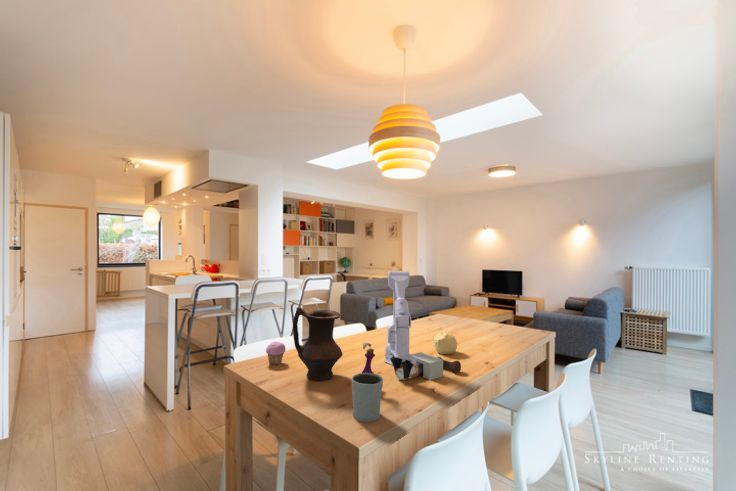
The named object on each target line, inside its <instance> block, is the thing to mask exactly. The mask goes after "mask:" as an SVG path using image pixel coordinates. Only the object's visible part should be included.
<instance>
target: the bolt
mask: <svg viewBox="0 0 736 491" xmlns="http://www.w3.org/2000/svg"><path fill="white" fill-rule="evenodd" d="M436 357H437V358H440V359H443V358H442V357H441V356H436ZM443 369H448V370H450V371H451V372H452V373H453V374H460V372H461V370H462V364H461V362H460V360H454V361H449V360H445V359H443Z"/></svg>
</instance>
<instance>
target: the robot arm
mask: <svg viewBox="0 0 736 491" xmlns="http://www.w3.org/2000/svg"><path fill="white" fill-rule="evenodd" d="M410 277H411V276H410V272H409V271H408V270H401V271H400V270H389V271H388V273H387V283H388V284H387V285H388V288H389V289H391V290H392V293H393V300H392V302H393V305H392V306H393V308H392V310H393V312H392V313H393V316H392V318H393V319H392V320H393V321H392V323H391V324H390V325H388V328H387V332H386V340H387V344H386V345H385V359H384V360H383V362H385V363H387V364H389V365H392V366H393V370H394V374H395V375H396V370H397V368H400V367H403V373H404V379H403V380H407V379H410V377H409V375H410V372H411V369H412V367H413V365H414V364H415V363H416V361H417V358H415V357H413V356H412V355H411V354H410V329H411V326H412V318H411V314H410V311H409V302H408V300H407V299H406V298H405V297H406V296H405V295H406V288H407V289H408V287H409V284H410V282H411V281H410V280H411V278H410Z"/></svg>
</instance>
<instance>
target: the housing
mask: <svg viewBox="0 0 736 491" xmlns="http://www.w3.org/2000/svg"><path fill="white" fill-rule="evenodd" d="M410 355H412V356H413V357H415V358H417V361H416V363H422V364H423V373H422V374H423V376H422V377H423V378H424V379H427V380H429V381H432V380H435V379H438V378H442V377H444V367H443V360H444V359H443V358H442V359H440V358H437V357H438V356H434V355H431V354H427V353H424V352H422V351H420V352H416V353H413V354H410Z"/></svg>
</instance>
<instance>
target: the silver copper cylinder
mask: <svg viewBox="0 0 736 491" xmlns="http://www.w3.org/2000/svg"><path fill="white" fill-rule="evenodd" d="M421 374H423V364H422V363H415V364H414V365H413V367H412V369H411V372H410V375H409V378H416V377H418V376H419V375H421ZM395 376H396V377H397V379H398V380H400V381H401V380H405V379H404V373H403V366H401V367H400V368H397V370H396V374H395Z"/></svg>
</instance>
